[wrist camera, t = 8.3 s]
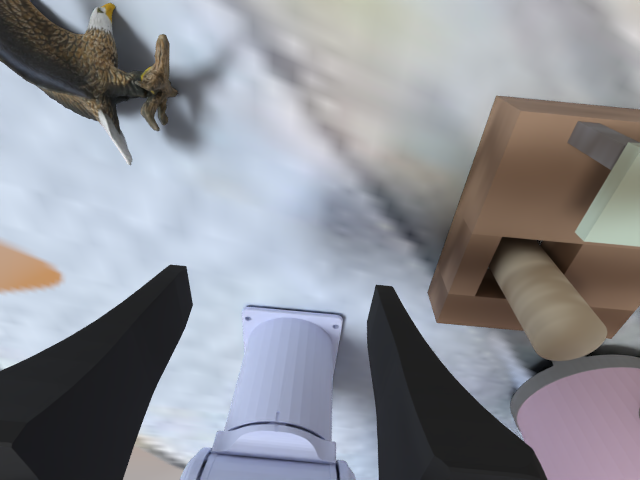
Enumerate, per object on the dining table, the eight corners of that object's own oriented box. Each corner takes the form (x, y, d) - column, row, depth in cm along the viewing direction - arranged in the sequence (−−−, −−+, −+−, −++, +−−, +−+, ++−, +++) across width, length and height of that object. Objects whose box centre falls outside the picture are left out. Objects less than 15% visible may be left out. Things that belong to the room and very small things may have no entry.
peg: (540, 230, 23) (622, 323, 16) (515, 267, 25) (579, 365, 18) (494, 220, 22) (558, 311, 16) (472, 258, 24) (521, 354, 18)
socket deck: (585, 306, 26) (657, 396, 20) (427, 292, 26) (453, 377, 20) (723, 117, 18) (905, 174, 12) (496, 95, 18) (571, 142, 12)
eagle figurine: (191, -32, 15) (-81, -151, 12) (147, 101, 12) (-208, -9, 10) (186, 89, 22) (10, 31, 19) (156, 191, 19) (-51, 142, 16)
